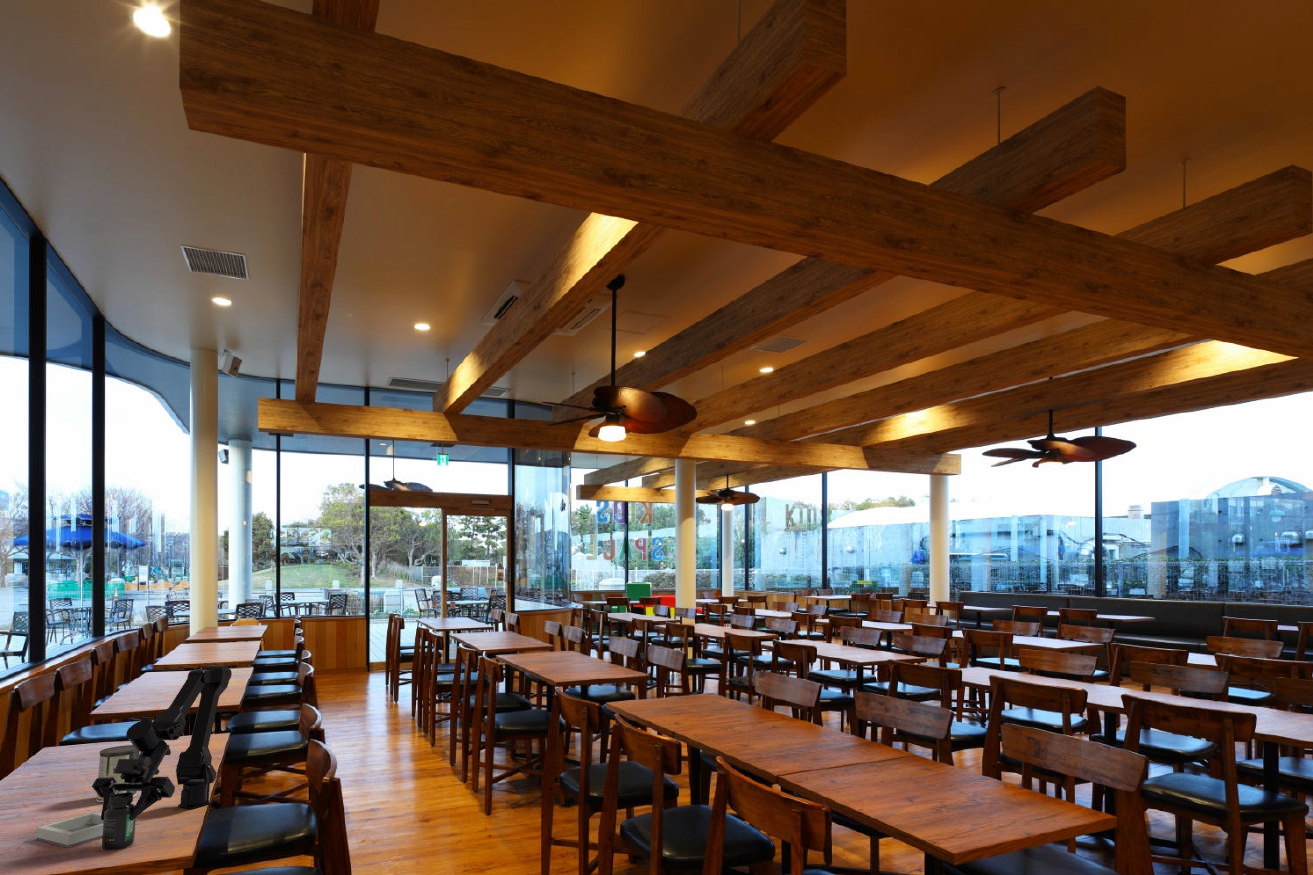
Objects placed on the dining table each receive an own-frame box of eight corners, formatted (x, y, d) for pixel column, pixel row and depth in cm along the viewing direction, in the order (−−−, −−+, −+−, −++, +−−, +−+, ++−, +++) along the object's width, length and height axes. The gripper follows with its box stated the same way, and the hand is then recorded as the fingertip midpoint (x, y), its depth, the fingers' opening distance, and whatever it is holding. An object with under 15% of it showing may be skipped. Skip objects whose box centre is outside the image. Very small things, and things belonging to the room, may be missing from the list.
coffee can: (126, 791, 249) (130, 743, 251) (143, 796, 244) (147, 747, 246) (88, 799, 240) (93, 750, 242) (105, 805, 235) (109, 754, 237)
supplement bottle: (136, 845, 201) (140, 794, 203) (104, 852, 196) (108, 800, 198) (130, 838, 206) (134, 789, 208) (98, 845, 201) (103, 795, 203)
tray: (94, 823, 219) (95, 811, 219) (125, 830, 213) (126, 818, 213) (36, 839, 206) (37, 827, 207) (68, 847, 200) (69, 834, 201)
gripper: (100, 744, 209) (64, 802, 196) (171, 743, 208) (140, 801, 196) (118, 768, 215) (84, 825, 203) (187, 767, 215) (158, 825, 202)
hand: (116, 819), depth 201 cm, fingers closed on supplement bottle, 7 cm apart
